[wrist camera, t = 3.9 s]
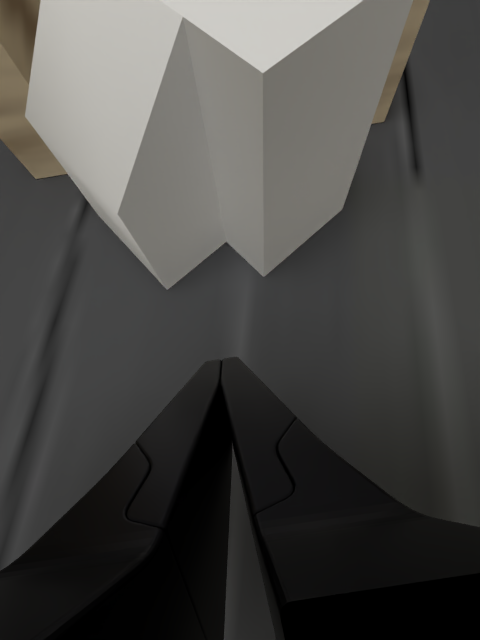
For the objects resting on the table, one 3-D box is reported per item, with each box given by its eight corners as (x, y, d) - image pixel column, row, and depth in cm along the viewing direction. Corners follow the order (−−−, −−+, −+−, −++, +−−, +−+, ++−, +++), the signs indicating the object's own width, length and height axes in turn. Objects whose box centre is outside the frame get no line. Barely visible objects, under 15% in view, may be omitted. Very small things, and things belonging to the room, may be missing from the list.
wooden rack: (384, 121, 23) (452, -60, 15) (36, 179, 24) (-92, 34, 15) (343, 12, 27) (379, -182, 19) (43, 63, 28) (-55, -104, 19)
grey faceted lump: (342, 209, 21) (429, -48, 10) (203, 329, 20) (118, 177, 8) (228, 119, 24) (197, -157, 13) (98, 215, 23) (-70, -11, 11)
